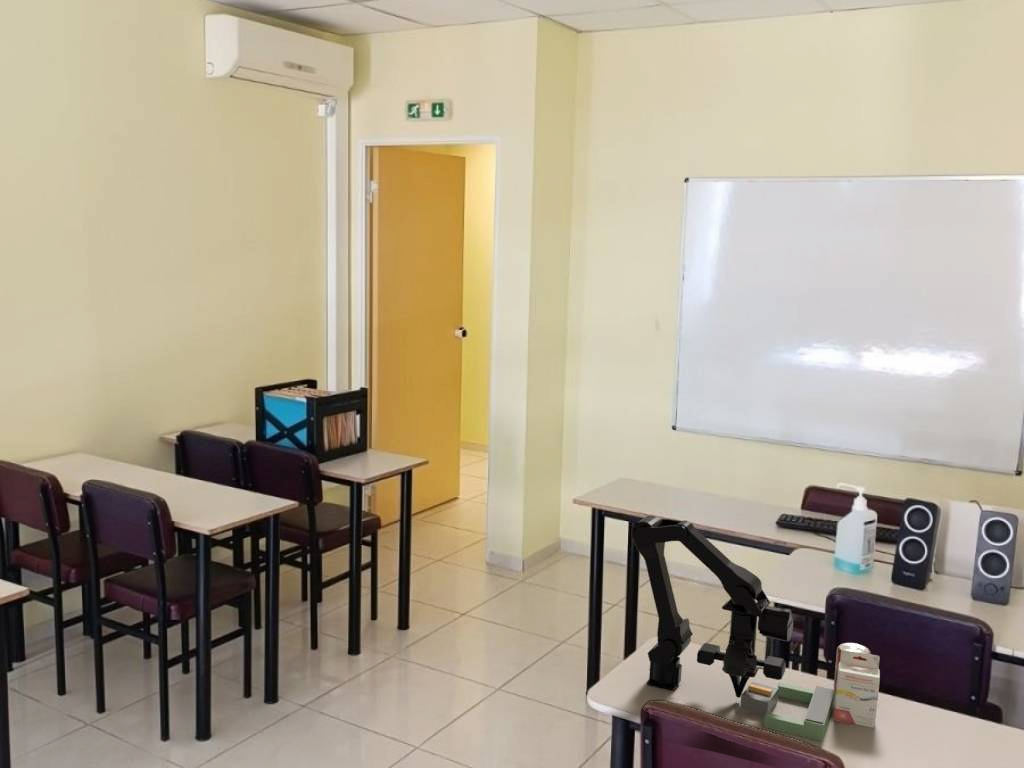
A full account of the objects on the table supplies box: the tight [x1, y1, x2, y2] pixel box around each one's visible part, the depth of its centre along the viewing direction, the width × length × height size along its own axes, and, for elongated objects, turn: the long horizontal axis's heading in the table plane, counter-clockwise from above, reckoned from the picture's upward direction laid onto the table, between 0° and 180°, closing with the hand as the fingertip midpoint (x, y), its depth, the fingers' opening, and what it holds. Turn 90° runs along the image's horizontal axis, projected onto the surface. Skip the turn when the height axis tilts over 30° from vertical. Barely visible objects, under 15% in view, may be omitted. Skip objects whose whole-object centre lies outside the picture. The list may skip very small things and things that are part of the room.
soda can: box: [833, 642, 872, 697], centre depth 220 cm, size 7×7×12 cm
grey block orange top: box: [739, 681, 779, 717], centre depth 216 cm, size 6×8×4 cm
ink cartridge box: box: [833, 650, 881, 729], centre depth 210 cm, size 9×5×15 cm, turn 71°
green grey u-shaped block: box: [763, 682, 835, 742], centre depth 212 cm, size 12×18×4 cm, turn 155°
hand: (738, 696), depth 217 cm, fingers closed
